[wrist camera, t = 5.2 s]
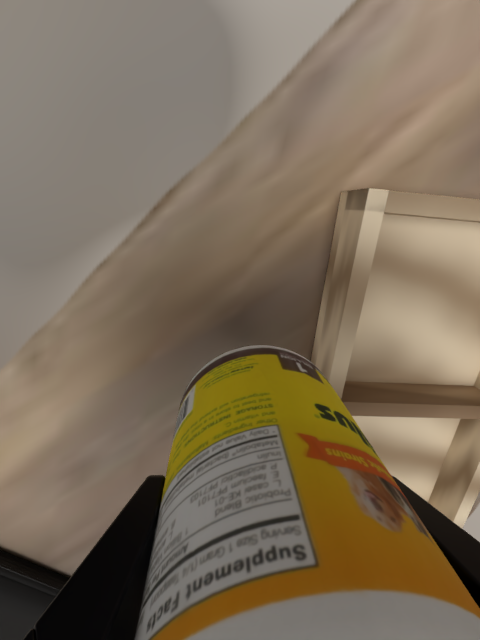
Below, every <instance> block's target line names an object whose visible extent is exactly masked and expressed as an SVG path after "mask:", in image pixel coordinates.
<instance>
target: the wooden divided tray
mask: <svg viewBox="0 0 480 640" xmlns="http://www.w3.org/2000/svg"><path fill="white" fill-rule="evenodd" d="M311 362H312V363H313V364H314V365H315V366H316V367H317V368H318V369H319V370H320V371H321V372H322V373H323V375H324V376H325V377H326V379H327V380H328V381H329V383H330V384H331V386H332V387H333V389H334V390H335V392H336V393H337V395H338V396H339V398H340V399H341V401H342V402H343V404H344V405H345V407H346V408H347V410H348V411H349V413H350V414H351V416H352V417H353V419H354V420H355V422H356V423H357V425H358V426H359V428H360V429H361V431H362V432H363V434H364V435H365V437H366V439H367V440H368V441H369V443H370V444H371V445H372V447H373V449H374V450H375V452H376V454H377V455H378V457H379V458H380V460H381V461H382V462H383V464H384V465H385V467H386V468H387V470H388V471H389V473H390V475H392V476H394V477H396V478H397V479H398V480H400V481H401V482H402V483H404V484H405V485H406V486H407V487H409V488H410V489H411V490H413V491H414V492H415V493H416V494H418V495H419V496H420V497H422V498H423V499H424V500H426V501H427V502H428V503H429V504H431V505H432V506H433V507H435V508H436V509H437V510H438V511H440V512H441V513H442V514H444V515H445V516H446V517H447V518H449V519H450V520H451V521H453V522H454V523H455V524H457V525H458V526H459V527H460V528H463V526H464V524H465V521H466V519H467V517H468V515H469V513H470V511H471V508H472V506H473V504H474V502H475V500H476V498H477V495H478V493H479V491H480V199H471V198H461V197H451V196H441V195H431V194H422V193H412V192H402V191H392V190H382V189H372V188H367V189H360V190H352V191H345V192H341V196H340V202H339V207H338V213H337V218H336V224H335V229H334V235H333V240H332V246H331V251H330V257H329V263H328V268H327V274H326V279H325V285H324V290H323V296H322V301H321V307H320V312H319V318H318V323H317V329H316V334H315V340H314V345H313V351H312V357H311Z"/></svg>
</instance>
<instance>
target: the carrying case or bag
mask: <svg viewBox="0 0 480 640" xmlns="http://www.w3.org/2000/svg"><path fill="white" fill-rule="evenodd" d="M68 580H69V578H66V577H64V576H62V575H59V574H57V573H54V572H52V571H50V570H47V569H45V568H42V567H40V566H37V565H35V564H33V563H30V562H28V561H25V560H23V559H20V558H18V557H15V556H13V555H11V554H8V553H6V552H3V551H1V550H0V640H23V638H24V637H25V636H26V635H27V633H28V632H29V631H30V630H31V629H34V625H35V623H36V622H37V620H38V619H39V618H40V617H41V615H42V614H43V613H44V611H45V610H46V609H47V607H48V606H49V605H50V604H51V602H52V601H53V600H54V598H55V597H56V596H57V594H58V593H59V592H60V590H61V589H62V588H63V587H64V585H65V584H66V583H67V581H68ZM34 630H35V629H34Z"/></svg>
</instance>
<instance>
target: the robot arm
mask: <svg viewBox="0 0 480 640" xmlns="http://www.w3.org/2000/svg"><path fill="white" fill-rule="evenodd" d="M391 476H392V475H391ZM392 477H393V479H394V480H395V482H396V483H397V485H398V486H399V488H400V489H401V491H402V492H403V494H404V495H405V497H406V498H407V500H408V502H409V503H410V505H411V506H412V508H413V509H414V511H415V512H416V514H417V515H418V517H419V518H420V520H421V521H422V523H423V524H424V526H425V527H426V529H427V530H428V532H429V533H430V535H431V536H432V538H433V539H434V541H435V542H436V544H437V545H438V547H439V548H440V550H441V551H442V553H443V554H444V556H445V557H446V559H447V560H448V562H449V563H450V565H451V566H452V568H453V569H454V571H455V572H456V574H457V575H458V577H459V578H460V580H461V581H462V583H463V584H464V586H465V587H466V589H467V590H468V592H469V593H470V595H471V596H472V598H473V599H474V601H475V602H476V604H477V605H478V607H479V608H480V542H479V541H477V540H476V539H475V538H473V537H472V536H471V535H469V534H468V533H467V532H466V531H464V530H463V529H462V528H460V527H459V526H458V525H457V524H455V523H454V522H453V521H451V520H450V519H449V518H447V517H446V516H445V515H444V514H442V513H441V512H440V511H438V510H437V509H436V508H435V507H433V506H432V505H431V504H429V503H428V502H427V501H426V500H424V499H423V498H422V497H420V496H419V495H418V494H416V493H415V492H414V491H413V490H411V489H410V488H409V487H407V486H406V485H405V484H404V483H402V482H401V481H400V480H398V479H397V478H396V477H394V476H392ZM164 484H165V477H164V476H163V475H151V476H148V477H147V478H146V480H145V481H144V482H143V484H142V485H141V486H140V487H139V489H138V490H137V491H136V493H135V494H134V495H133V497H132V498H131V499H130V501H129V502H128V503H127V504H126V506H125V507H124V508H123V510H122V511H121V512H120V514H119V515H118V516H117V517H116V519H115V520H114V521H113V523H112V524H111V525H110V527H109V528H108V529H107V531H106V532H105V533H104V534H103V536H102V537H101V538H100V540H99V541H98V542H97V544H96V545H95V546H94V547H93V549H92V550H91V551H90V553H89V554H88V555H87V557H86V558H85V559H84V560H83V562H82V563H81V564H80V566H79V567H78V568H77V570H76V571H75V572H74V574H73V575H72V576H71V577H70V579H69V580H68V581H67V583H66V584H65V585H64V587H63V588H62V589H61V590H60V592H59V593H58V594H57V596H56V597H55V598H54V600H53V601H52V602H51V604H50V605H49V606H48V607H47V609H46V610H45V611H44V613H43V614H42V615H41V617H40V618H39V619H38V620H37V622H36V623H35V625H34V629H35V630H34V629H31V630H30V631H29V632H28V633H27V635H26V636H25V637H24V638H23V640H134V639H135V634H136V629H137V624H138V619H139V613H140V608H141V603H142V598H143V593H144V587H145V582H146V577H147V572H148V567H149V561H150V556H151V551H152V546H153V540H154V535H155V529H156V525H157V520H158V514H159V509H160V504H161V499H162V493H163V488H164Z"/></svg>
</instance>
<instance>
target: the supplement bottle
mask: <svg viewBox="0 0 480 640" xmlns="http://www.w3.org/2000/svg"><path fill="white" fill-rule="evenodd" d="M134 640H480V608H479V607H478V605H477V604H476V602H475V601H474V599H473V598H472V596H471V595H470V593H469V592H468V590H467V589H466V587H465V586H464V584H463V583H462V581H461V580H460V578H459V577H458V575H457V574H456V572H455V571H454V569H453V568H452V566H451V565H450V563H449V562H448V560H447V559H446V557H445V556H444V554H443V553H442V551H441V550H440V548H439V547H438V545H437V544H436V542H435V541H434V539H433V538H432V536H431V535H430V533H429V532H428V530H427V529H426V527H425V526H424V524H423V523H422V521H421V520H420V518H419V517H418V515H417V514H416V512H415V511H414V509H413V508H412V506H411V505H410V503H409V502H408V500H407V498H406V497H405V495H404V494H403V492H402V491H401V489H400V488H399V486H398V485H397V483H396V482H395V480H394V479H393V477H392V476H391V475H390V473H389V471H388V470H387V468H386V467H385V465H384V464H383V462H382V461H381V460H380V458H379V457H378V455H377V454H376V452H375V450H374V449H373V447H372V445H371V444H370V443H369V441H368V440H367V439H366V437H365V435H364V434H363V432H362V431H361V429H360V428H359V426H358V425H357V423H356V422H355V420H354V419H353V417H352V416H351V414H350V413H349V411H348V410H347V408H346V407H345V405H344V404H343V402H342V401H341V399H340V398H339V396H338V395H337V393H336V392H335V390H334V389H333V387H332V386H331V384H330V383H329V381H328V380H327V379H326V377H325V376H324V375H323V373H322V372H321V371H320V370H319V369H318V368H317V367H316V366H315V365H314V364H313V363H312V362H310V361H309V360H308V359H306V358H305V357H303V356H301V355H299V354H297V353H295V352H293V351H291V350H287V349H284V348H281V347H276V346H268V345H254V346H246V347H241V348H237V349H234V350H231V351H228V352H226V353H224V354H222V355H220V356H218V357H216V358H215V359H213V360H212V361H210V362H209V363H207V364H206V365H205V366H204V367H203V368H202V369H201V370H200V371H199V372H198V373H197V374H196V375H195V376H194V377H193V379H192V380H191V382H190V383H189V385H188V386H187V388H186V390H185V392H184V395H183V397H182V400H181V404H180V408H179V412H178V418H177V423H176V428H175V433H174V438H173V443H172V448H171V453H170V457H169V462H168V468H167V474H166V478H165V484H164V488H163V493H162V499H161V504H160V509H159V514H158V520H157V525H156V529H155V535H154V540H153V546H152V551H151V556H150V561H149V567H148V572H147V577H146V582H145V587H144V593H143V598H142V603H141V608H140V613H139V619H138V624H137V629H136V634H135V639H134Z"/></svg>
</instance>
